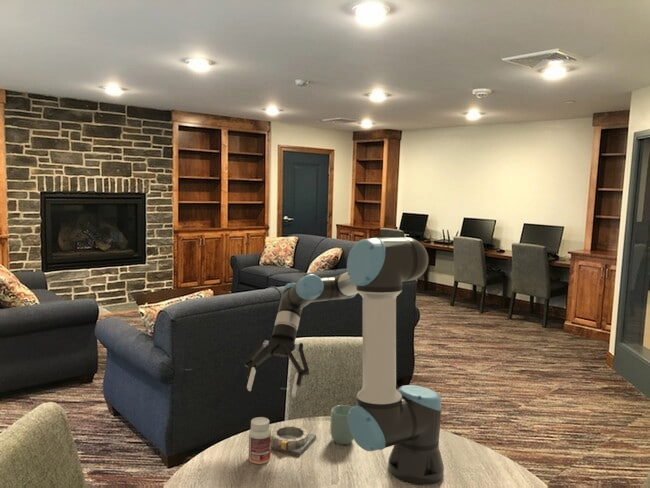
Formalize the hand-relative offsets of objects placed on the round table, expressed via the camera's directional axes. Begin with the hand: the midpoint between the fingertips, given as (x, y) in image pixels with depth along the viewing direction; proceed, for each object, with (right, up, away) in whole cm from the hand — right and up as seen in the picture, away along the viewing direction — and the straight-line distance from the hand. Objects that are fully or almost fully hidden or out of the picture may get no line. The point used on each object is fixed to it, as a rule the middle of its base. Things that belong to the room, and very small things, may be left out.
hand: (270, 392), depth 160 cm
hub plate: (+5, -16, +3) cm, 17 cm away
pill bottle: (-2, -17, -7) cm, 19 cm away
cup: (+21, -16, +5) cm, 28 cm away
